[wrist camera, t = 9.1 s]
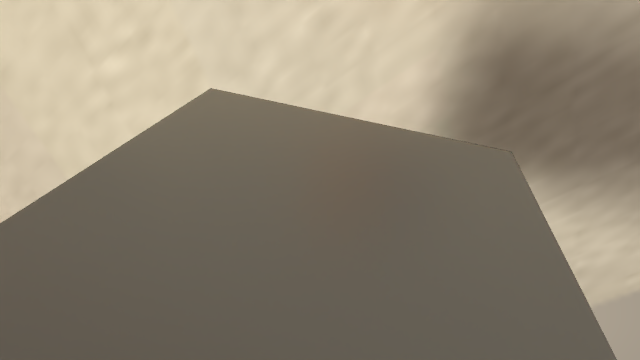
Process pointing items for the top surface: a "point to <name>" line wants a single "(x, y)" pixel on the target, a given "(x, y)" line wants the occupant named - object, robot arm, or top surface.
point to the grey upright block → (290, 248)
